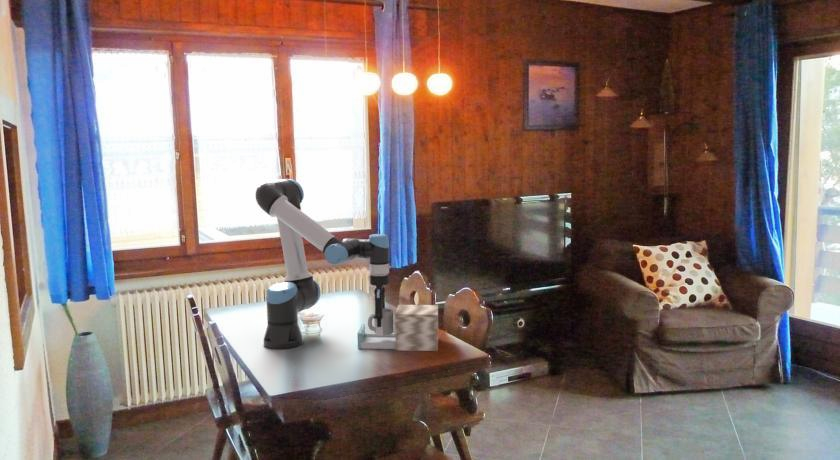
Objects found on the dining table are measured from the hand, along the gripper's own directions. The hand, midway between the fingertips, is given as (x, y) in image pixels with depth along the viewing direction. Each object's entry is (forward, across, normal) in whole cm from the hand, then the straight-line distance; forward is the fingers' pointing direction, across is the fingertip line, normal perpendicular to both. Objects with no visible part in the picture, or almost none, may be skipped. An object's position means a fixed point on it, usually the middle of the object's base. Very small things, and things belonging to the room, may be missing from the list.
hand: (380, 331), depth 254 cm
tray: (+5, 0, -1) cm, 5 cm away
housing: (+5, 0, -14) cm, 15 cm away
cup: (+1, 0, 0) cm, 1 cm away
